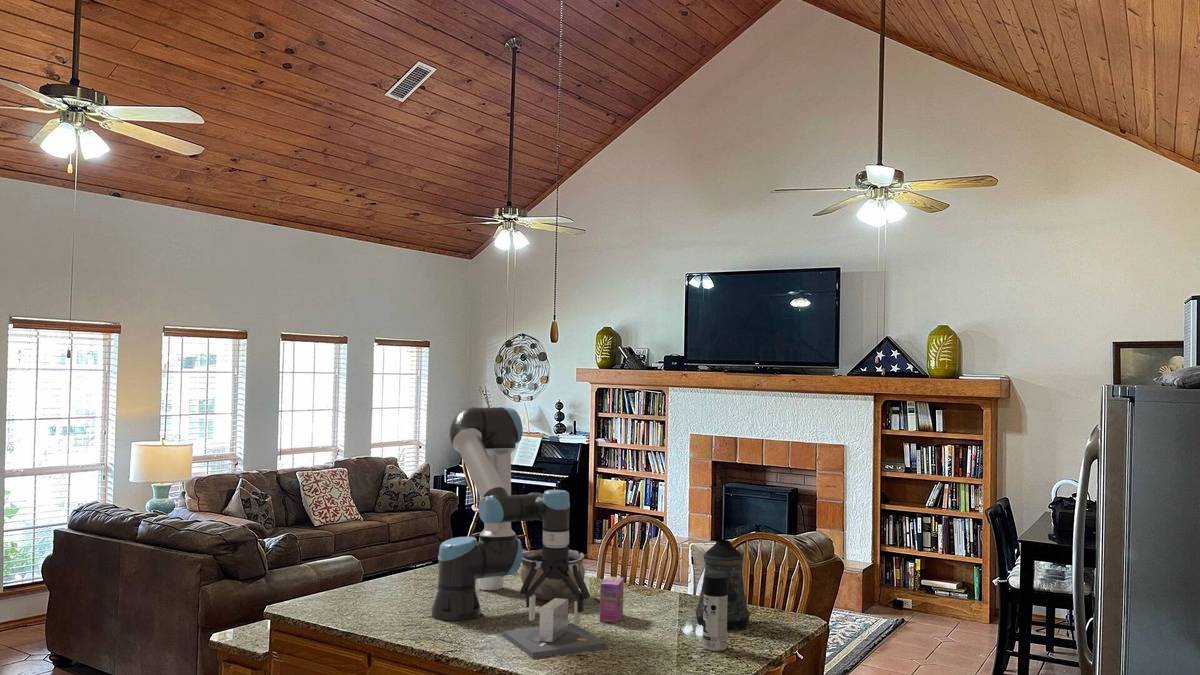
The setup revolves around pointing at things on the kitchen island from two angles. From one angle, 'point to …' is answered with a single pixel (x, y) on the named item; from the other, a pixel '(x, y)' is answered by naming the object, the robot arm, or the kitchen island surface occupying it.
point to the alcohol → (490, 583)
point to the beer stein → (728, 563)
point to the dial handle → (553, 620)
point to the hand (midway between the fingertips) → (554, 621)
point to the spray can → (715, 612)
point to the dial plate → (564, 644)
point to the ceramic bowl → (548, 586)
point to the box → (611, 599)
